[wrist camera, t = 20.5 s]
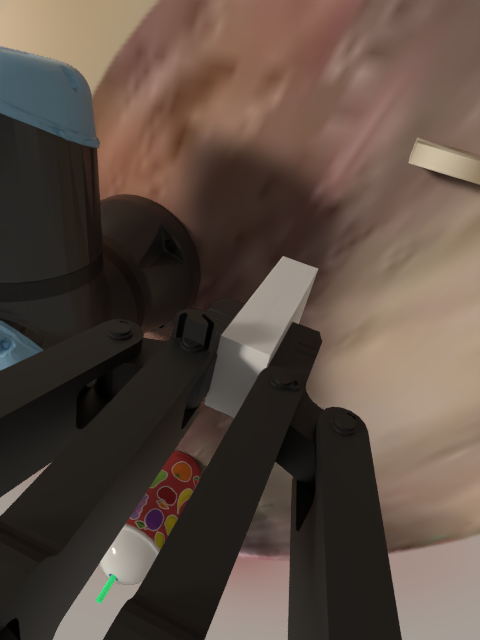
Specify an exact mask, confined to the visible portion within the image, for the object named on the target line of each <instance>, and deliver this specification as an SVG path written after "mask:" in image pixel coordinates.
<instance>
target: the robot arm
mask: <svg viewBox="0 0 480 640" xmlns="http://www.w3.org/2000/svg"><path fill="white" fill-rule="evenodd" d="M99 144H100V142H99V139H98V138H97V137H96V132H95V123H94V113H93V104H92V95H91V91H90V88H89V85H88V83H87V81H86V80H85V78H84V77H83V75H81V73H80V72H79V71H78V70H77V69H75V68H74V67H72V66H70V65H69V64H67V63H64V62H61V61H58V60H54V59H51V58H47V57H43V56H39V55H35V54H31V53H27V52H22V51H19V50H14V49H10V48H5V47H1V46H0V497H1V496H3V495H4V494H6V493H7V492H9V491H10V490H12V489H13V488H15V487H16V486H17V485H19V484H20V483H22V482H23V481H25V480H26V479H28V478H29V477H31V476H32V475H33V474H35V473H36V472H38V471H39V470H41V469H42V468H44V467H45V466H46V465H48V464H49V463H51V462H52V461H53V462H52V463H51V464H50V465H49V466H48V467H47V468H46V469H45V470H44V471H43V472H42V473H41V474H40V475H39V477H38V478H37V479H36V480H35V481H34V482H33V483H32V484H31V485H30V486H29V487H28V488H27V489H26V490H25V491H24V492H23V493H22V494H21V495H20V497H19V498H17V500H16V501H15V502H14V503H13V504H12V505H11V506H10V507H9V508H8V509H7V510H6V511H5V512H4V513H3V514H2V515H1V516H0V640H52V639H53V637H54V635H55V632H56V630H57V628H58V626H59V624H60V622H61V621H62V619H63V617H64V616H65V614H66V613H67V611H68V610H69V608H70V607H71V605H72V604H73V602H74V601H75V599H76V598H77V596H78V595H79V593H80V591H81V590H82V589H83V587H84V586H85V584H86V583H87V581H88V580H89V578H90V576H91V575H92V574H93V572H94V570H95V569H96V567H97V566H98V564H99V563H100V561H101V560H102V558H103V557H104V555H105V554H106V552H107V551H108V549H109V548H110V546H111V545H112V543H113V542H114V540H115V539H116V537H117V536H118V534H119V533H120V531H121V530H122V528H123V527H124V525H125V524H126V522H127V521H128V519H129V518H130V516H131V515H132V513H133V512H134V510H135V509H136V507H137V506H138V504H139V503H140V501H141V500H142V498H143V497H144V495H145V494H146V492H147V491H148V489H149V488H150V486H151V485H152V483H153V482H154V480H155V478H156V477H157V475H158V474H159V472H160V471H161V469H162V468H163V466H164V465H165V463H166V462H167V460H168V459H169V457H170V456H171V454H172V453H173V451H174V450H175V448H176V447H177V445H178V444H179V442H180V441H181V439H182V438H183V436H184V435H185V433H186V432H187V430H188V429H189V427H190V426H191V424H192V423H193V421H194V420H195V418H196V417H197V415H198V412H199V408H200V404H201V402H202V400H203V399H204V397H205V396H206V400H205V404H204V405H206V406H208V407H211V408H213V409H215V410H217V411H220V412H222V413H224V414H227V415H229V416H231V417H233V418H234V420H233V422H232V423H231V425H230V427H229V429H228V431H227V432H226V434H225V436H224V438H223V439H222V441H221V443H220V445H219V447H218V448H217V450H216V452H215V454H214V455H213V457H212V459H211V461H210V463H209V464H208V466H207V468H206V470H205V472H204V473H203V475H202V477H201V479H200V480H199V482H198V484H197V486H196V488H195V489H194V491H193V493H192V495H191V496H190V498H189V500H188V502H187V504H186V505H185V507H184V509H183V511H182V512H181V514H180V516H179V518H178V520H177V521H176V523H175V525H174V527H173V528H172V530H171V532H170V534H169V536H168V537H167V539H166V541H165V543H164V545H163V546H162V548H161V550H160V552H159V553H158V555H157V557H156V559H155V561H154V562H153V564H152V566H151V568H150V569H149V571H148V573H147V575H146V577H145V578H144V580H143V582H142V584H141V586H140V587H139V589H138V591H137V592H136V594H135V595H134V596H133V598H131V599H129V600H128V601H127V602H126V603H125V604H124V606H123V607H122V608H121V610H120V612H119V613H118V615H117V616H116V618H115V620H114V622H113V623H112V625H111V627H110V628H109V630H108V632H107V634H106V635H105V637H104V639H103V640H204V639H205V637H206V634H207V631H208V629H209V627H210V624H211V621H212V619H213V617H214V614H215V611H216V609H217V606H218V604H219V601H220V599H221V596H222V594H223V591H224V589H225V586H226V584H227V581H228V579H229V576H230V574H231V571H232V569H233V566H234V563H235V561H236V559H237V556H238V554H239V551H240V549H241V546H242V544H243V541H244V538H245V536H246V533H247V531H248V528H249V526H250V523H251V521H252V518H253V516H254V513H255V511H256V508H257V506H258V503H259V501H260V498H261V496H262V493H263V491H264V488H265V485H266V483H267V480H268V478H269V475H270V473H271V470H272V468H273V465H274V463H275V462H276V463H278V464H279V465H280V466H281V467H283V468H284V469H285V470H286V471H287V472H289V473H290V474H291V475H292V476H293V479H292V500H291V539H290V577H289V579H290V581H289V617H288V640H402V638H401V632H400V626H399V620H398V613H397V607H396V601H395V595H394V589H393V583H392V577H391V570H390V564H389V558H388V552H387V546H386V539H385V533H384V527H383V521H382V515H381V509H380V502H379V496H378V490H377V484H376V478H375V472H374V466H373V459H372V453H371V447H370V441H369V435H368V430H367V428H366V425H365V423H364V422H363V421H362V420H361V418H360V417H359V416H357V415H356V414H354V413H353V412H351V411H349V410H347V409H344V408H340V407H330V408H326V409H325V410H323V409H321V408H320V407H319V406H317V405H316V404H315V403H314V402H313V401H312V400H311V399H310V398H309V396H308V394H307V392H306V382H307V379H308V377H309V374H310V372H311V369H312V366H313V364H314V361H315V359H316V356H317V354H318V351H319V349H320V346H321V343H322V339H321V336H320V332H318V331H315V330H313V329H310V328H308V327H305V326H303V325H300V324H299V322H300V320H301V317H302V314H303V311H304V308H305V305H306V303H307V300H308V297H309V294H310V291H311V288H312V285H313V283H314V280H315V277H316V274H317V271H318V268H315V267H312V266H309V265H306V264H304V263H301V262H298V261H295V260H293V259H290V258H287V257H284V256H283V257H282V258H281V259H280V260H279V262H278V263H277V264H276V266H275V267H274V268H273V269H272V271H271V272H270V273H269V275H268V276H267V277H266V278H265V280H264V281H263V282H262V283H261V285H260V286H259V287H258V289H257V290H256V291H255V292H254V294H253V295H252V296H251V298H250V299H249V300H248V301H247V303H246V304H243V303H240V302H238V301H235V300H233V299H230V298H227V297H225V298H222V299H220V300H217V301H215V302H214V303H213V304H212V305H211V306H210V308H209V309H208V310H207V311H206V312H204V311H201V310H197V309H189V307H190V306H191V305H192V303H193V301H194V300H195V297H196V295H197V292H198V288H199V283H200V267H199V261H198V256H197V253H196V250H195V247H194V245H193V243H192V241H191V239H190V237H189V235H188V233H187V232H186V230H185V229H184V228H183V226H182V225H181V224H180V222H179V221H178V220H177V219H176V218H175V217H174V216H173V215H172V214H171V213H170V212H168V211H167V210H166V209H165V208H163V207H162V206H160V205H159V204H157V203H155V202H153V201H151V200H149V199H146V198H143V197H140V196H136V195H128V194H123V195H115V196H111V197H108V198H106V199H103V200H101V201H100V192H99V175H98V159H97V148H99ZM172 323H174V327H173V333H172V337H171V338H170V339H169V340H168V341H162V340H154V339H149V338H143V335H144V333H146V332H150V331H155V330H159V329H162V328H165V327H167V326H169V325H170V324H172ZM206 394H207V395H206Z"/></svg>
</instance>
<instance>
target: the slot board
mask: <svg viewBox="0 0 480 640" xmlns="http://www.w3.org/2000/svg"><path fill="white" fill-rule="evenodd" d="M408 163H410V164H413V165H417V166H420V167H423V168H426V169H430V170H433V171H436V172H440V173H443V174H446V175H449V176H453V177H456V178H459V179H463V180H466V181H469V182H472V183H476V184H479V185H480V156H479V155H476V154H472V153H469V152H465V151H462V150H459V149H455V148H452V147H448V146H445V145H442V144H438V143H435V142H431V141H428V140H424V139H421V138H417V140H416V143H415V145H414V148H413V150H412V152H411V155H410V158H409V162H408Z"/></svg>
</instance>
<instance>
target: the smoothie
mask: <svg viewBox="0 0 480 640" xmlns="http://www.w3.org/2000/svg"><path fill="white" fill-rule="evenodd" d="M199 480H200V469H199V466H198V464H197V463H196V462H195V460H193V459H192V458H191V457H190V456H188V455H186V454H185V453H182V452H178V451H173V453H172V454H171V456H170V457H169V459H168V460H167V462H166V463H165V465H164V466H163V468H162V469H161V471H160V472H159V474H158V475H157V477H156V478H155V480H154V482H153V483H152V485H151V486H150V488H149V489H148V491H147V492H146V494H145V495H144V497H143V498H142V500H141V501H140V503H139V504H138V506H137V507H136V509H135V510H134V512H133V513H132V515H131V516H130V518H129V519H128V521H127V522H126V524H125V525H124V527H123V528H122V530H121V531H120V533H119V534H118V536H117V537H116V539H115V540H114V542H113V543H112V545H111V546H110V548H109V549H108V551H107V552H106V554H105V555H104V557H103V558H102V560H101V561H100V566H101V568H102V570H103V572H104V573H105V574H106V576H107V577H108V578H109V580H108V582H107V583H106V584H105V586H104V588H103V589H102V591H101V593H100V594H99V596H98V597H97V599H96V601H97V602H98V603H101V602H102V600H103V599H104V597H105V596H106V594H107V592H108V591H109V589H110V588H111V586H112V584H113V583H114V582H116V583H118V584H123V585H133V584H137V583H140V582H142V581H143V580H144V578H145V577H146V575H147V573H148V571H149V569H150V568H151V566H152V564H153V562H154V561H155V559H156V557H157V555H158V553H159V552H160V550H161V548H162V546H163V545H164V543H165V541H166V539H167V537H168V536H169V534H170V532H171V530H172V528H173V527H174V525H175V523H176V521H177V520H178V518H179V516H180V514H181V512H182V511H183V509H184V507H185V505H186V504H187V502H188V500H189V498H190V496H191V495H192V493H193V491H194V489H195V488H196V486H197V484H198V482H199Z"/></svg>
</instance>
